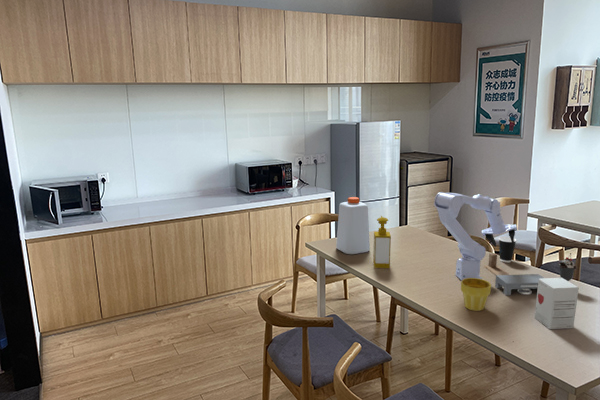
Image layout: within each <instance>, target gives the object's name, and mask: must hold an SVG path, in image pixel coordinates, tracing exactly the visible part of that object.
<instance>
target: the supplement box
mask: <svg viewBox="0 0 600 400" xmlns="http://www.w3.org/2000/svg"><path fill="white" fill-rule="evenodd" d="M579 290H580V289H579V286H577V285H575V284H573V283H572V282H570V281H567V280H565V279H563V278H561V277H544V278H541V279H539V281H538V288H537V292H536V301H535V302H536V303H535V312H534V319H536V320H537V321H538V322H540V323H541V324H542V325H543V326H545V327H546V328H548V329H549V330H559V329H574V327H575V318H576V313H577V312H576V311H577V305H578V304H577V303H578V297H579V296H578V295H579Z"/></svg>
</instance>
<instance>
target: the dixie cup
mask: <svg viewBox="0 0 600 400" xmlns="http://www.w3.org/2000/svg"><path fill="white" fill-rule="evenodd" d="M517 241H518V240H517V239H516V238H514V244H512V241H511V238H510V236H499V237H498V245H499V246H498V247H499V259H500V262H503V263H511V262H512V260H513V256H514V251H515V247H516V242H517Z"/></svg>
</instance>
